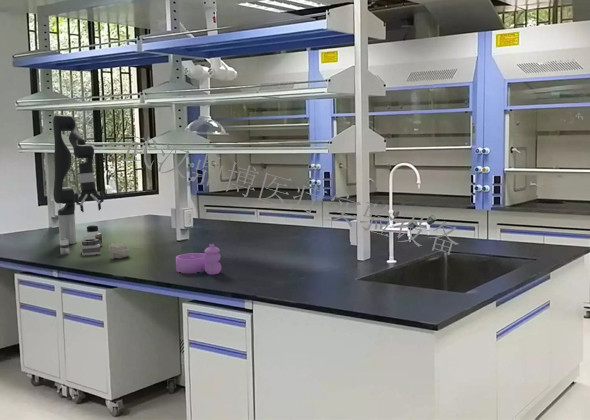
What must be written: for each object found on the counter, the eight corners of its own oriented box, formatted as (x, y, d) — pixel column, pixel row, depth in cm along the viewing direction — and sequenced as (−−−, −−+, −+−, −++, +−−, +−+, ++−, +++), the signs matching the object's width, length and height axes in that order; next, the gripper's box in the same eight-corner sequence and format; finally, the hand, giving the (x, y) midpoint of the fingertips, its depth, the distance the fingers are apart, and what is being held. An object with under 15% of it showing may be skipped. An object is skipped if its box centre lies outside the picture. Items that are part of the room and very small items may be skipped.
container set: (169, 270, 296) (168, 242, 294) (195, 265, 307) (193, 237, 306) (205, 277, 280) (204, 247, 278) (231, 271, 291) (230, 242, 289)
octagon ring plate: (81, 252, 351) (80, 239, 350) (98, 250, 354) (97, 237, 353) (82, 255, 340) (81, 242, 339) (100, 254, 343) (99, 241, 342)
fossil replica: (133, 255, 337) (114, 257, 337) (131, 240, 336) (112, 242, 337) (126, 258, 325) (107, 260, 325) (124, 242, 324) (105, 244, 325)
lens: (60, 253, 347) (59, 238, 346) (69, 253, 349) (68, 238, 348) (60, 255, 343) (59, 240, 342) (69, 254, 345) (68, 239, 344)
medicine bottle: (96, 247, 364) (94, 226, 363) (84, 247, 366) (83, 226, 364) (102, 245, 371) (101, 224, 370) (91, 245, 372) (89, 224, 371)
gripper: (101, 180, 356) (104, 209, 357) (74, 183, 352) (78, 212, 353) (100, 180, 348) (104, 210, 349) (73, 183, 345) (76, 213, 346)
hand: (91, 211), depth 351 cm, fingers open, 8 cm apart
